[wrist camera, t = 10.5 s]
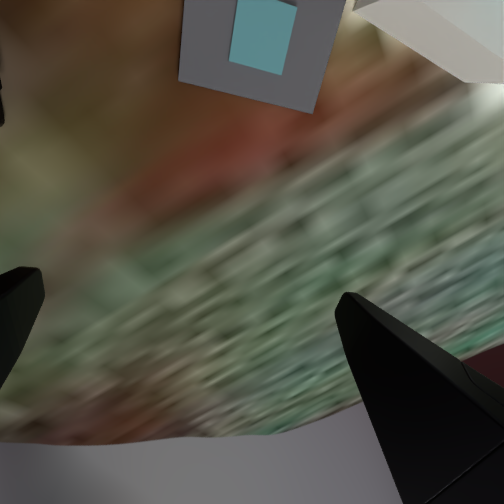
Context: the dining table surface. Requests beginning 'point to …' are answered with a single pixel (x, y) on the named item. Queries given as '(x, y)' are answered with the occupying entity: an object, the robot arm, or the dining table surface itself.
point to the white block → (446, 33)
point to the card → (260, 48)
